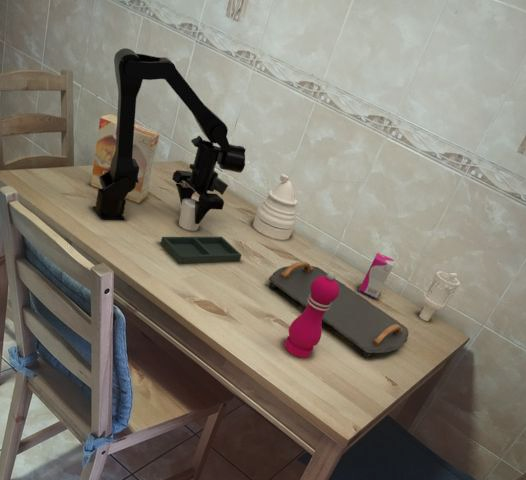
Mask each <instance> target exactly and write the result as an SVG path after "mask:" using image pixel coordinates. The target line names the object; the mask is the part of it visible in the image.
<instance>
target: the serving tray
mask: <svg viewBox="0 0 526 480" xmlns="http://www.w3.org/2000/svg"><path fill="white" fill-rule="evenodd" d="M328 273H329V272H326V271H324V269H321V268H320V267H319V266H314V265H311V264H310V263H309V262H307V261H297V262H295V263H292V264H290V265H287V266H283V267H281V268H278V269H276V270H275V271H274V272H273V273H272V274H271V275H270V276H269V277H268V281H269V288H270V289H272V290H275V289H277V288H278V289H280V290H281V291H282V292H284V293H285V294H286V295H288V296H289V297H291V298H292V299H293V300H294V301H296V302H297V303H299V304H300V305H301V306H303V307H304V308H305V309H306V307H307V305H308V301H307V299H308V298H309V295H310V294H311V290H310V287H311V284H312V282H313V281H314V280H315V279H316V278H317V277H320V276H327V274H328ZM334 280H335V281H336V282H337V284H338V286H339V294H338V297H337V298H336V299H335V300H334V301H333V302H331V306H330V308H329V310H327V311H326V312H325V313H324V315H323V318H322V322H324V323H326V324H327V325H328V326H330V327H331V328H332V329H334V330H335V331H337V332H338V333H339V334H341V335H342V336H343V337H345V338H346V339H348V340H349V341H350V342H351V343H353V344H354V345H356V346H357V347H358V348H360V349H361V356H362V357H363V358H366V359H367V358H369V357H370V356H371V355H372V354H384V353H390V352H393V351H396V350H399V349H400V348H402V347H403V346H404V344H405V343H406V342H407V341H408V337H409V328H407V326H405V325H404V324H402V323H401V322H400V321H398V320H396V319H395V318H393V317H392V316H391V315H389V314H388V313H386V312H385V311H384V310H383V309H381V308H379V307H377V306H376V305H374V304H372V303H371V302H370V301H369V300H367V299H366V298H365V297H363V296H362V295H361V294H358V293H357V291H354V290H353V289H351V288H350V287H348V286H347V285H346V284H344V283H343V282H341V281H339V280H338V279H336V278H335V279H334Z"/></svg>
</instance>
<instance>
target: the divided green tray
mask: <svg viewBox="0 0 526 480" xmlns="http://www.w3.org/2000/svg"><path fill="white" fill-rule="evenodd" d="M160 245H161V246H162V247H163V248H164V250H166V252H167V253H168V254H169V255H170V256H171V257H172V258H173V259H174V260H175V261H176V262H177V263H178V264H179V265H191V264H209V263H210V264H213V263H214V264H216V263H234V262H235V263H238V262H239V263H240V261H241V258H242V254H241V253H240V252H239V251H238V250H237V249H236V247H234V246H233V245H232V244H231V243H230V242H229V241H228V240H226V238H224V237H223V236H161V239H160Z"/></svg>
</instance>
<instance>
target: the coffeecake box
mask: <svg viewBox="0 0 526 480" xmlns="http://www.w3.org/2000/svg"><path fill="white" fill-rule="evenodd" d="M97 132H98V133H97V137H96V146H95V152H94V158H93V159H94V160H93V164H92V165H93V167H92V174H91V180H90V186H93V187H95V188H98V189H102V185H101V183H100V179H99V177H100V176H101V175H103V174H105V173H106V172H108V171H109V170H110V166H111V161H112V158H113V156H114V154H115V150H116V133H117V115H115V114H112V113H109V114H106V115H102V116H100V118H99V125H98V130H97ZM159 138H160V132H158V131H155V130H153V129H150V128H147V127H144V126H142V125H140V124H137V123H135V124H134V138H133V153H132V158H133V159H135V160H136V162H137V164H138V166H139V173H138V182H139V183H137V182H136V186H135V188H134V190H132V191H131V192H129V193H128V194H127V196H126V197H125V200H129V201H132V202H135V203H137V204H140V203H141V202H142V201H143V200H145V199H146V198H147V196H148V191H149V186H150V181H151V177H152V172H153V167H154V162H155V157H156V152H157V148H158V143H159Z"/></svg>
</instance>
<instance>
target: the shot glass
mask: <svg viewBox="0 0 526 480" xmlns="http://www.w3.org/2000/svg"><path fill="white" fill-rule="evenodd" d="M195 201H198V202H199V200H197V199H193V198H191V199H189V198H186V199H183V200H182V206H181V205H180V213H179V220H178V225H179V227H181V228H182V229H185V230H187V231H193V232H194V231H197V230H199V227H200V224H201V222H202V220H201V221H200V223H199V224H195Z"/></svg>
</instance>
